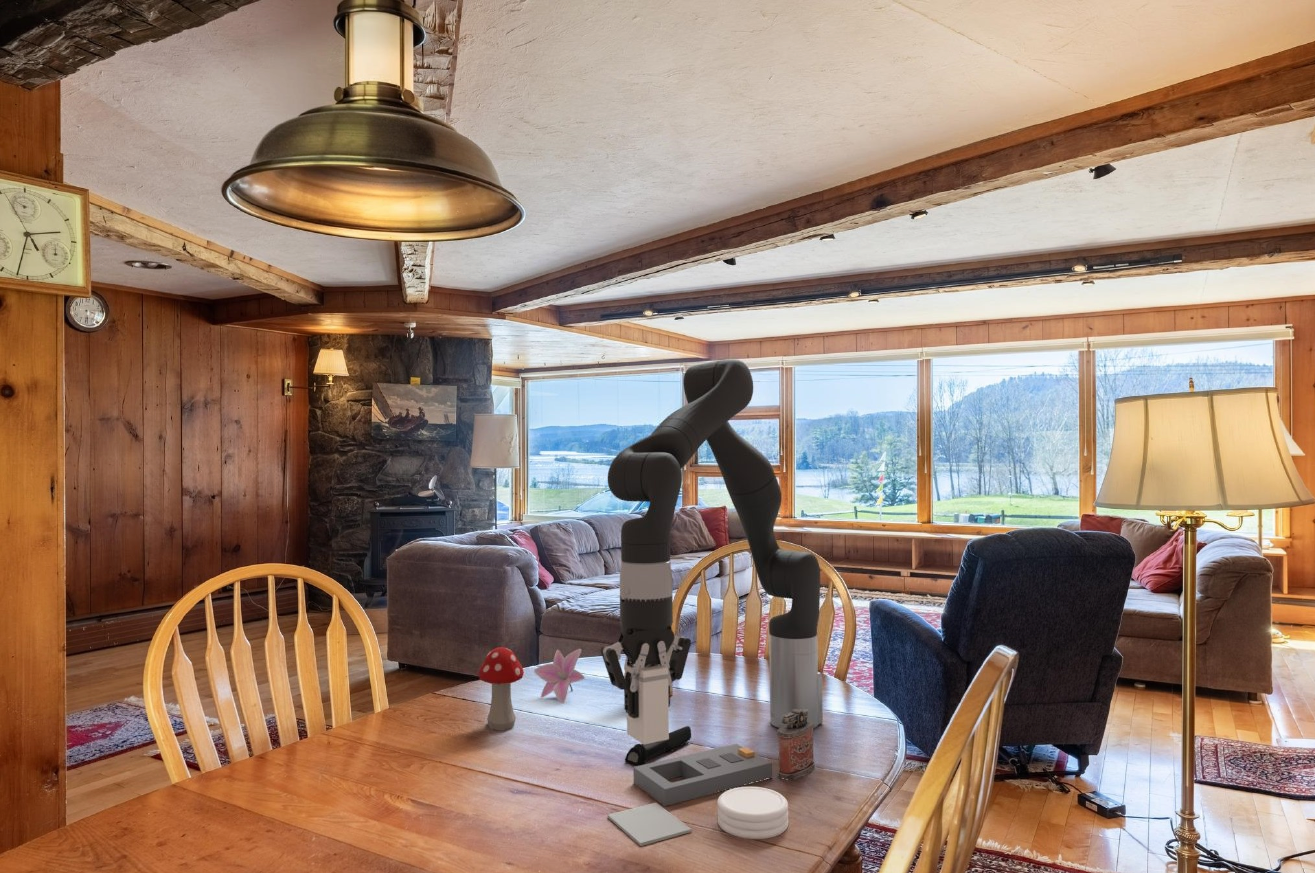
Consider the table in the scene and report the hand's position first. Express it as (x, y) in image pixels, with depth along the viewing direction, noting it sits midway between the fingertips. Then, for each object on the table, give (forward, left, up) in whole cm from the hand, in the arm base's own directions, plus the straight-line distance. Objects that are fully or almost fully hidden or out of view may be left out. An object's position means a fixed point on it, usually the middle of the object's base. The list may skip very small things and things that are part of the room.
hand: (647, 713), depth 115 cm
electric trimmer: (-15, -24, -16) cm, 32 cm away
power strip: (-15, -9, -16) cm, 23 cm away
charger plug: (0, 0, -3) cm, 3 cm away
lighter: (-30, -4, -16) cm, 34 cm away
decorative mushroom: (+4, -52, -16) cm, 55 cm away
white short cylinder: (-13, +7, -16) cm, 22 cm away
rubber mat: (0, 0, -16) cm, 16 cm away
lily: (-14, -64, -16) cm, 67 cm away
